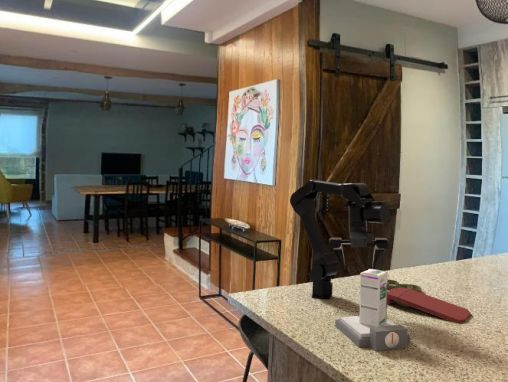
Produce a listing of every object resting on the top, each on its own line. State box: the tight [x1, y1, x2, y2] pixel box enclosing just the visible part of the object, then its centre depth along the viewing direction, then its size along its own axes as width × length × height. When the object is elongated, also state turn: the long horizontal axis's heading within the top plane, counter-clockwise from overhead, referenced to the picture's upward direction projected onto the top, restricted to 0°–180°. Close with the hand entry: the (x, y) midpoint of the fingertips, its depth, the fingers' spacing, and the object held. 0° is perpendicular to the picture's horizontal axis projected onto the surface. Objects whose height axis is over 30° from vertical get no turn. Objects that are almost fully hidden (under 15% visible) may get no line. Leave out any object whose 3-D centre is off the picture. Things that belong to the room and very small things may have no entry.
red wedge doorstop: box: [387, 288, 471, 324], centre depth 139 cm, size 12×5×25 cm
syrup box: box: [358, 268, 389, 327], centre depth 118 cm, size 6×6×14 cm
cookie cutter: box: [387, 279, 423, 293], centre depth 161 cm, size 18×12×2 cm, turn 55°
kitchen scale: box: [334, 315, 411, 352], centre depth 116 cm, size 18×15×5 cm
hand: (358, 269), depth 138 cm, fingers open, 9 cm apart
